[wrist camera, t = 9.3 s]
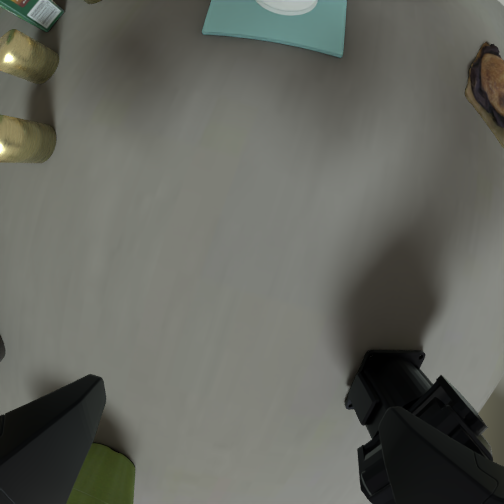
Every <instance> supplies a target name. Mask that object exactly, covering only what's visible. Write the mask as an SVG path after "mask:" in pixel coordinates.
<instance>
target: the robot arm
mask: <svg viewBox="0 0 504 504" xmlns="http://www.w3.org/2000/svg"><path fill="white" fill-rule="evenodd" d="M371 355H373V356H372V357H370V356H371ZM420 355H421V356H420ZM419 356H420V357H419ZM369 357H370V358H369ZM424 358H425V353H424V352H423V351H421V350H416V351H397V350H370V351H368V352H367V353H366V355H365V357H364V360H363V362H362V365H361V367H360V370H359V372H358V373H357V375H356V377H355V379H354V382H353V384H352V386H351V389H350V391H349V393H348V397H347V400H346V402H345V407H346V409H354V410H355V412H356V414H357V416H358V419H359V421H360V423H361V424H362V425H366V427H367V429H368V431H369V434H370V436H371V438H372V440H370V441H369V442H368V443H366V444H365V445H362V446H361V447H359V448H358V449H357V451H358V462H359V475H360V485H361V491H362V492H363V493H364V494H365V496H366V497H367V499H368V500H369V501H370V502H371V503H372V504H504V466H501V465H499V464H497V463H495V462H493V458H492V451H491V446H490V445H489V443H488V442H487V441H486V440H485V438H484V437H483V436H482V435H481V434H482V433H483V432H484V431H485V430H486V429H487V428H488V427H487V426H486V424H485V423H484V422H483V420H482V419H481V417H480V416H479V415H478V413H477V412H476V411H475V409H474V408H473V407H472V406H471V405H470V403H469V402H468V401H467V400H466V399H465V398H464V397H463V396H462V395H461V394H460V392H458V391H457V390H456V389H455V388H454V387H453V386H452V385H451V384H450V383H449V382H448V381H447V380H446V379H445V378H444V377H443V376H442V375H440V376H439V378H438V379H437V381H436V382H435V383H434V384H432V383H431V381H430V380H429V379H428V378H427V377H426V375H425V374H424V373H423V372H422V371H421V370H420V367H421V364H422V362H423V360H424ZM105 403H106V393H105V387H104V381H103V379H102V378H101V377H99V376H96V375H92V374H89V375H87V376H85V377H83V378H81V379H79V380H77V381H75V382H72V383H70V384H68V385H66V386H64V387H62V388H60V389H58V390H56V391H54V392H51V393H49V394H47V395H45V396H43V397H41V398H39V399H36V400H34V401H32V402H30V403H28V404H26V405H23V406H21V407H19V408H17V409H14V410H12V411H10V412H8V413H5V415H1V416H0V504H66V503H67V501H68V498H69V496H70V493H71V491H72V488H73V486H74V484H75V481H76V479H77V477H78V474H79V472H80V470H81V467H82V465H83V463H84V461H85V458H86V456H87V454H88V452H89V450H90V447H91V445H92V443H93V440H94V437H95V434H96V431H97V428H98V424H99V421H100V418H101V415H102V412H103V409H104V406H105Z"/></svg>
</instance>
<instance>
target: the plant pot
mask: <svg viewBox="0 0 504 504" xmlns="http://www.w3.org/2000/svg"><path fill="white" fill-rule="evenodd" d="M134 483H135V467H134V465H133V464H132V462H131V461H130V460H129V459H128V458H126V457H125V456H124V455H122V454H121V453H116V452H114V451H113V450H111V449H110V448H109V447H107V446H104V445H101V444H96V443H92V445H91V447H90V450H89V452H88V454H87V456H86V458H85V461H84V463H83V465H82V467H81V470H80V472H79V474H78V477H77V479H76V481H75V484H74V486H73V488H72V491H71V493H70V496H69V498H68V501H67V503H66V504H133V498H134Z"/></svg>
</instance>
